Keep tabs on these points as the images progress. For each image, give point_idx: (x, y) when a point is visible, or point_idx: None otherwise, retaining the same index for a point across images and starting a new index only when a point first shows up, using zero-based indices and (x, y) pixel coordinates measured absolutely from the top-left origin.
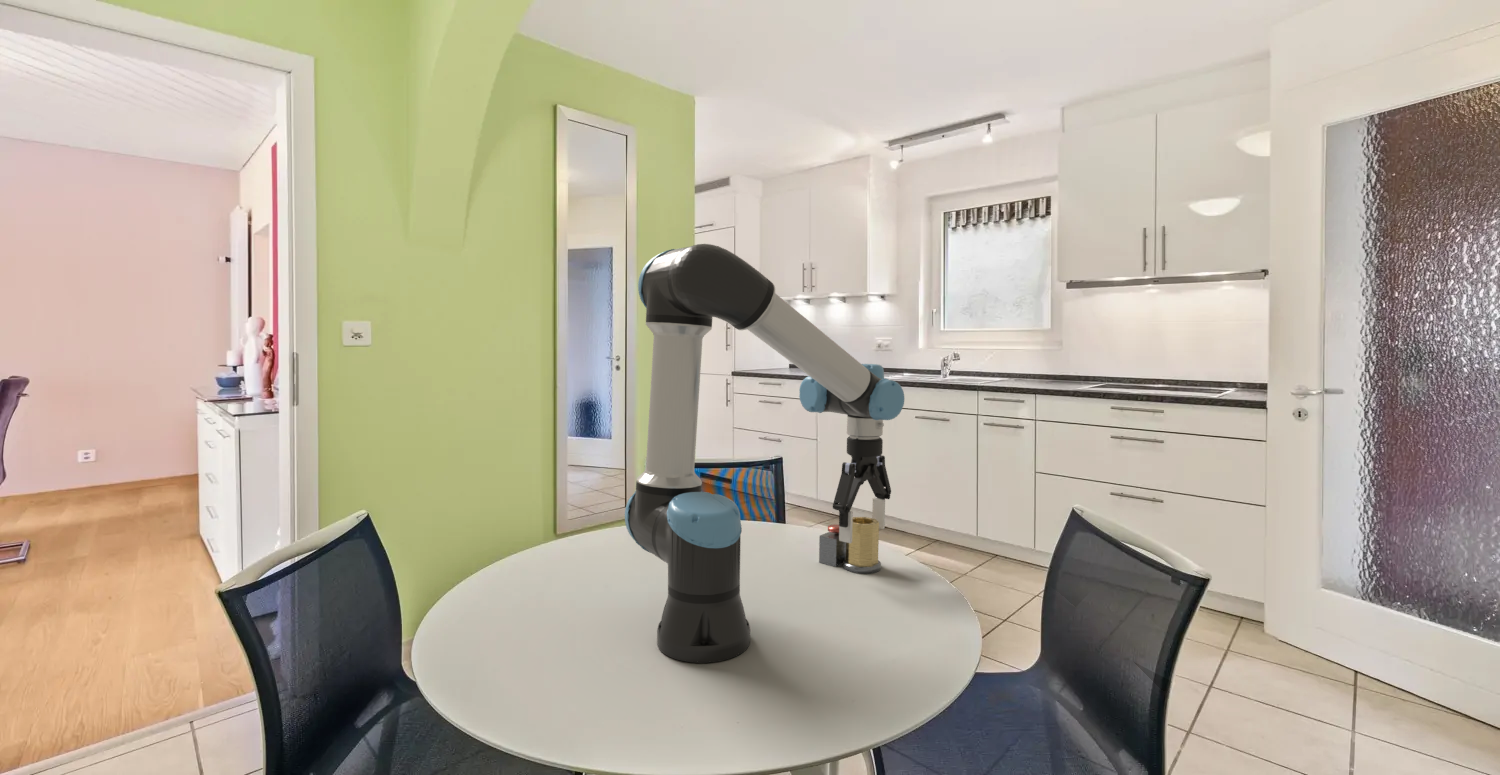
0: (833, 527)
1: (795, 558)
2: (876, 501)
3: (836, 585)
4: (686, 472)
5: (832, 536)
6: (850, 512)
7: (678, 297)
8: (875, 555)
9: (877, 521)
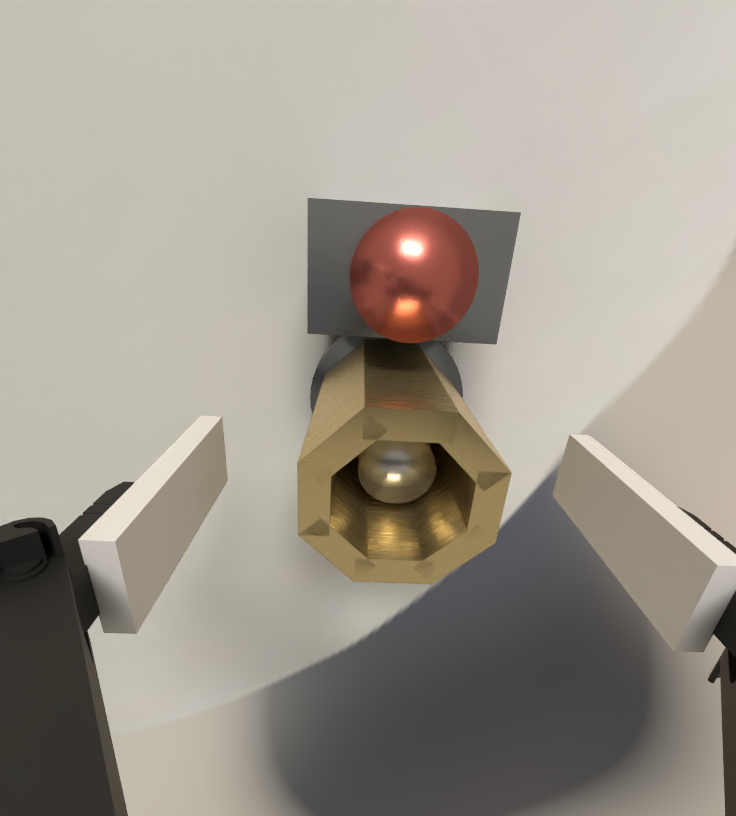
0: (388, 265)
1: (296, 65)
2: (683, 576)
3: (160, 408)
4: None
5: (346, 281)
6: (106, 627)
7: None
8: None
9: (446, 570)
